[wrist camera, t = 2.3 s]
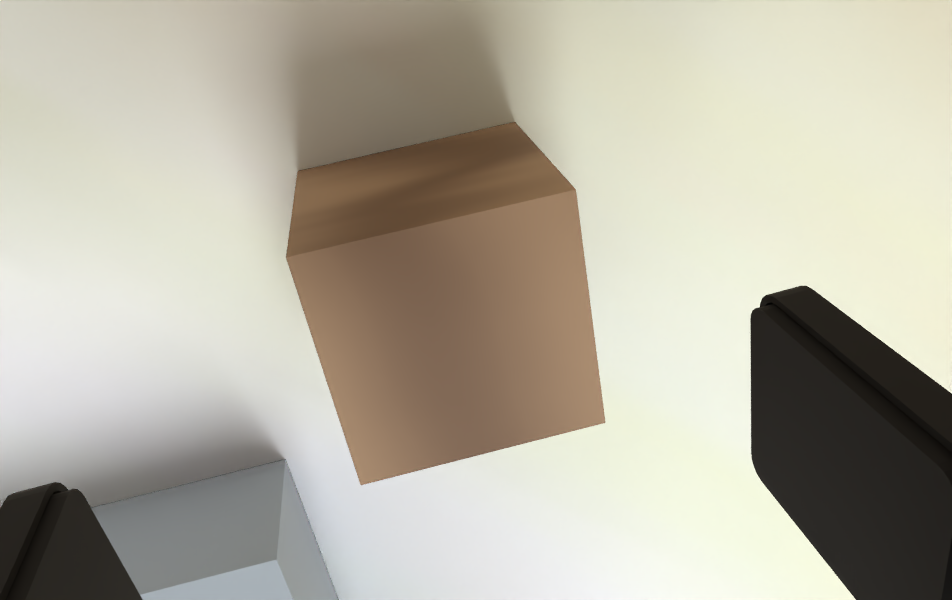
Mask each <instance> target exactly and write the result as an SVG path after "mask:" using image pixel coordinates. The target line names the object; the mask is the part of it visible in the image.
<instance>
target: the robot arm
mask: <svg viewBox="0 0 952 600" xmlns="http://www.w3.org/2000/svg"><path fill="white" fill-rule="evenodd" d="M751 454H752V461H753V465H754V468H755V470H756V472H757V474H758V476H759V478H760V479H761V481H762V482H763V484H764V485H765V486H766V487H767V489H768V490H769V491H770V492H771V494H772V495H773V496H774V497H775V499H776V500H777V501H778V502H779V504H780V505H781V506H782V507H783V509H784V510H785V511H786V512H787V514H788V515H789V516H790V517H791V519H792V520H793V521H794V522H795V524H796V525H797V526H798V527H799V529H800V530H801V531H802V532H803V534H804V535H805V536H806V537H807V539H808V540H809V541H810V542H811V544H812V545H813V546H814V547H815V549H816V550H817V551H818V552H819V554H820V555H821V556H822V557H823V559H824V560H825V561H826V562H827V564H828V565H829V566H830V567H831V569H832V570H833V571H834V572H835V574H836V575H837V576H838V578H839V579H840V580H841V581H842V583H843V584H844V585H845V586H846V588H847V589H848V590H849V591H850V593H851V594H852V595H853V596H854V598H855V599H856V600H952V394H951V393H950V392H949V391H947V390H946V389H945V388H943V387H942V386H941V385H939V384H938V383H937V382H935V381H934V380H933V379H931V378H930V377H929V376H927V375H926V374H925V373H923V372H922V371H921V370H919V369H918V368H917V367H915V366H914V365H913V364H911V363H910V362H909V361H907V360H906V359H905V358H903V357H902V356H901V355H899V354H898V353H897V352H895V351H894V350H893V349H891V348H890V347H889V346H887V345H886V344H885V343H883V342H882V341H881V340H879V339H878V338H877V337H875V336H874V335H873V334H871V333H870V332H869V331H867V330H866V329H865V328H863V327H862V326H861V325H859V324H858V323H857V322H855V321H854V320H853V319H851V318H850V317H849V316H847V315H846V314H845V313H843V312H842V311H841V310H839V309H838V308H837V307H835V306H834V305H833V304H831V303H830V302H829V301H827V300H826V299H825V298H823V297H822V296H821V295H819V294H818V293H817V292H815V291H814V290H813V289H811V288H809V287H807V286H799V287H795V288H791V289H788V290H784V291H780V292H776V293H772V294H769V295H766V296H764V297H763V298H762V301H761V303H760V307H759V308H756V309H754V310H753V311H752V314H751ZM0 600H143V599H142V598H141V596H140V594H139V592H138V590H137V589H136V587H135V585H134V583H133V582H132V580H131V578H130V576H129V574H128V573H127V571H126V569H125V567H124V566H123V564H122V562H121V560H120V559H119V557H118V555H117V553H116V551H115V550H114V548H113V546H112V544H111V543H110V541H109V539H108V537H107V536H106V534H105V532H104V530H103V528H102V527H101V525H100V523H99V521H98V520H97V518H96V516H95V514H94V513H93V511H92V509H91V507H90V505H89V504H88V502H87V500H86V498H85V497H84V495H83V494H82V493H81V492H80V491H79V490H78V489H72V490H68V489H67V488H66V487H65V486H64V485H62V484H61V483H57V482H55V483H51V484H47V485H43V486H39V487H36V488H32V489H28V490H24V491H20V492H17V493H13V494H11V495H9V496H8V497H7V498H6V500H5V501H4V502H3V504H2V506H1V508H0Z"/></svg>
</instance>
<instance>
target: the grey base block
mask: <svg viewBox="0 0 952 600" xmlns="http://www.w3.org/2000/svg"><path fill="white" fill-rule="evenodd" d="M91 509H92V511H93V513H94V514H95V516H96V518H97V520H98V521H99V523H100V525H101V527H102V528H103V530H104V532H105V534H106V536H107V537H108V539H109V541H110V543H111V544H112V546H113V548H114V550H115V551H116V553H117V555H118V557H119V559H120V560H121V562H122V564H123V566H124V567H125V569H126V571H127V573H128V574H129V576H130V578H131V580H132V582H133V583H134V585H135V587H136V589H137V590H138V592H139V594H140V596H141V598H142V599H143V600H339V599H338V596H337V594H336V591H335V588H334V586H333V583H332V580H331V578H330V575H329V572H328V570H327V567H326V565H325V562H324V559H323V557H322V554H321V551H320V549H319V546H318V543H317V541H316V538H315V536H314V533H313V530H312V528H311V525H310V522H309V520H308V517H307V514H306V512H305V509H304V507H303V504H302V501H301V499H300V496H299V493H298V491H297V488H296V485H295V483H294V480H293V478H292V475H291V472H290V470H289V467H288V464H287V462H286V459H284V460H280V461H276V462H272V463H268V464H264V465H260V466H256V467H252V468H248V469H244V470H240V471H236V472H232V473H228V474H224V475H220V476H216V477H212V478H208V479H204V480H200V481H196V482H192V483H188V484H184V485H180V486H176V487H173V488H169V489H165V490H161V491H157V492H153V493H149V494H145V495H141V496H137V497H133V498H129V499H125V500H121V501H117V502H113V503H109V504H105V505H101V506H97V507H93V508H91Z"/></svg>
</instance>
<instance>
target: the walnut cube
mask: <svg viewBox="0 0 952 600" xmlns="http://www.w3.org/2000/svg"><path fill="white" fill-rule="evenodd" d="M286 259H287V262H288V265H289V268H290V271H291V274H292V277H293V280H294V283H295V286H296V289H297V292H298V295H299V298H300V301H301V304H302V308H303V311H304V314H305V317H306V320H307V323H308V326H309V329H310V332H311V335H312V338H313V341H314V344H315V347H316V350H317V353H318V356H319V359H320V362H321V365H322V368H323V371H324V375H325V378H326V381H327V384H328V387H329V390H330V393H331V396H332V399H333V402H334V405H335V408H336V411H337V414H338V417H339V420H340V423H341V426H342V429H343V432H344V435H345V438H346V442H347V445H348V448H349V451H350V454H351V457H352V460H353V463H354V466H355V469H356V472H357V475H358V478H359V481H360V484H361V485H363V484H367V483H371V482H375V481H379V480H383V479H387V478H391V477H395V476H399V475H403V474H406V473H410V472H414V471H418V470H422V469H426V468H430V467H434V466H438V465H442V464H446V463H449V462H453V461H457V460H461V459H465V458H469V457H473V456H477V455H481V454H485V453H489V452H492V451H496V450H500V449H504V448H508V447H512V446H516V445H520V444H524V443H528V442H532V441H535V440H539V439H543V438H547V437H551V436H555V435H559V434H563V433H567V432H571V431H575V430H578V429H582V428H586V427H590V426H594V425H598V424H602V423H605V416H604V409H603V401H602V393H601V385H600V377H599V369H598V361H597V353H596V345H595V338H594V330H593V322H592V314H591V306H590V298H589V290H588V282H587V274H586V266H585V259H584V251H583V243H582V235H581V227H580V219H579V211H578V203H577V195H576V189H575V188H574V187H573V186H572V185H571V184H570V183H569V181H568V180H567V179H566V178H565V177H564V176H563V175H562V174H561V173H560V171H559V170H558V169H557V168H556V167H555V166H554V165H553V164H552V163H551V161H550V160H549V159H548V158H547V157H546V156H545V155H544V154H543V153H542V151H541V150H540V149H539V148H538V147H537V146H536V145H535V144H534V143H533V141H532V140H531V139H530V138H529V137H528V136H527V135H526V134H525V133H524V131H523V130H522V129H521V128H520V127H519V126H518V125H517V124H516V123H515V122H512V123H508V124H503V125H499V126H495V127H490V128H486V129H481V130H477V131H473V132H468V133H464V134H459V135H455V136H451V137H446V138H442V139H437V140H433V141H429V142H424V143H420V144H415V145H411V146H406V147H402V148H398V149H393V150H389V151H384V152H380V153H376V154H371V155H367V156H362V157H358V158H354V159H349V160H345V161H340V162H336V163H332V164H327V165H323V166H318V167H314V168H309V169H305V170H301V171H298V172H297V180H296V187H295V194H294V202H293V209H292V217H291V224H290V232H289V239H288V247H287V254H286Z"/></svg>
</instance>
